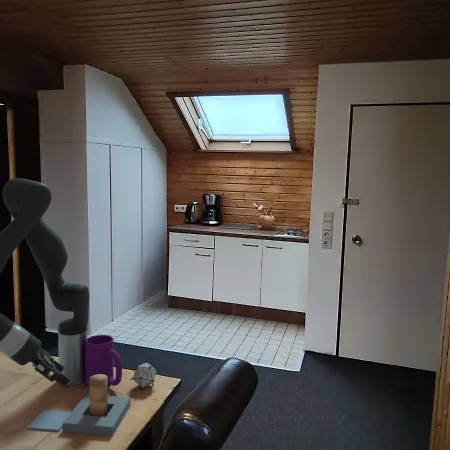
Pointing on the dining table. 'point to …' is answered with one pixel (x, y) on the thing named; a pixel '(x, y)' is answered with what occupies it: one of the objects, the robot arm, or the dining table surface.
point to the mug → (102, 359)
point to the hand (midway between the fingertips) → (64, 376)
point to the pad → (49, 420)
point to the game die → (144, 375)
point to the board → (97, 417)
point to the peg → (98, 395)
